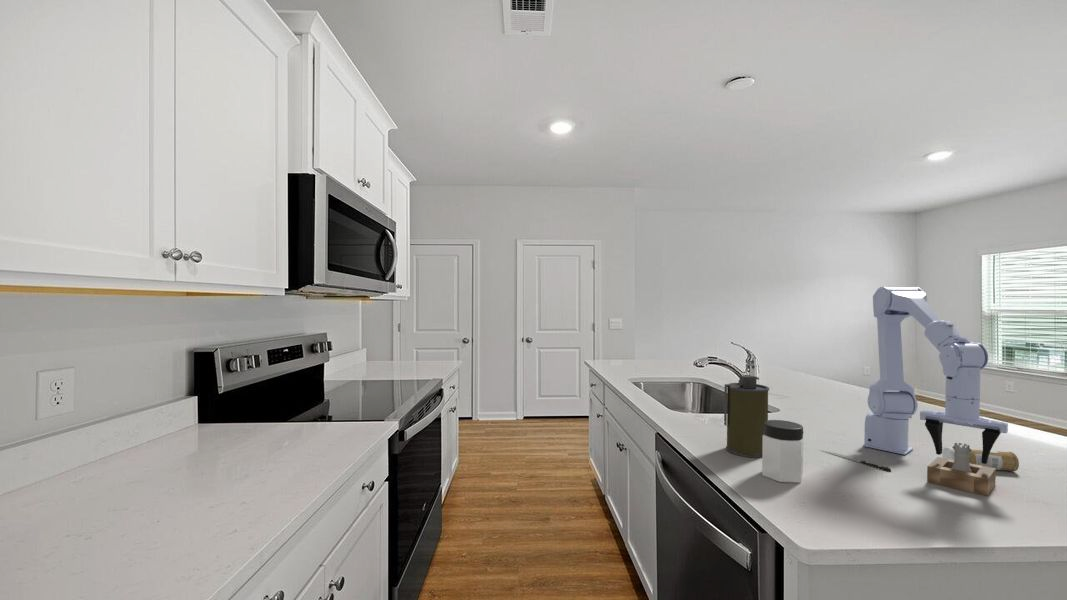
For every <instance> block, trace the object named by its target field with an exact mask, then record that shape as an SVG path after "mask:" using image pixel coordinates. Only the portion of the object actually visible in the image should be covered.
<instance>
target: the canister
mask: <svg viewBox="0 0 1067 600" xmlns="http://www.w3.org/2000/svg"><path fill="white" fill-rule="evenodd" d="M757 380H760V378H759V377H758V376H754V375H739V379H738V382H729V383H725V384H724V392H723V393H724V394H723V395H724V405H723V409H724V412H723V413H724V414H723V416H724V417H723V418H724V420H723V422H724V423H723V425H724V426H725V427H726V446H725V450H726V451H727V452H728V453H729V454H732V455H735V456H739V457H744V458H753V459H754V458H755V459H758V458H760V459H761V458H762V446H763V434H764V433H763V423H764V422H765V421H767V420H769V391H770V387H769V386H767V385H763V384H758V383H757Z"/></svg>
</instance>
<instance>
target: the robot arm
mask: <svg viewBox="0 0 1067 600" xmlns="http://www.w3.org/2000/svg"><path fill="white" fill-rule="evenodd" d="M927 295H928V294H927V293H926V292H924V290H923V289H922V287H920V286H912V287H911V286H910V287H908V286H906V287H903V286H900V287H899V286H897V287H896V286H895V287H893V286H891V287H890V286H889V287H887V286H880V287H878V288H877V289H876V291H875V292H874V293H873V295H872V309H873V317H875V318H876V323H877V341H878V342H877V344H878V345H877V346H878V363H879V379H878V380H877V381H876V382H874V383H873V384H871V385H870V386H869V393H868V396H867V407H868V409H869V410H870V412H868V413H866V415H865V418H864V444H863V447H865V448H866V447H867V448H870V449H875V450H880V451H885V452H890V453H895V454H898V455H904V456H905V455H906V456H907V454H909V453H910V452H911V451H913V450H914V447H913V446H909V419H912V416H914V415H915V414H916V412H917V410H918V406H919V405H918V400H917V397H916V395H915V389H914V387H913V386H912V385H910V384H909V383H908V382H906V381H905V380H904V363H903V345H902V343H903V342H902V328H901V327H902V326H901V324H902V322H903V321H904V320H905V319H906V318H910V317H912V318H913V319H915V320H916V321H917V322H918V323H919V324H920V325H921V326H923V328H924V329H925V330H924V332H923V333H924V336H925V338H927V340H929V342H930V343H931V344H932V345H933V346H934V347H935V348H936V350H937V351H938V353H939V354H938V358H939V362H940V364H941V365H942V373H943V375H944V376H945V396H944V397H945V401H944V402H945V403H944V406H945V409H944V412H942V411H932V410H931V411H930V410H925V409H922V410H920V411H919V420H920V421H921V420H922V421H925V422H924V426H925V428H926V430H927V432H928V434H929V435H930V437H931V440H932V443H933V445H934V448H935V454H936V455H940V456H941V454H942V452H943V430H944V429H943V428H944V424H950V425H954V426H961V427H969V428H974V429H975V428H976V429H981V430H982V432H981V440H982V450H983V451H982V463H983V464H987V462H988V457H989V454H990V451H992V448H993V447H994V444H995V443H996V441H997V439H998V438H999V437H1000V435H1001V434H1008V431H1009V422H1003V421H998V420H993V419H989V418H984V417H980V415H981V414H980V406H981V404H980V402H981V401H980V399H981V370H983V369H984V368H985V367H986V366H987V365H988V362H989V353H988V351H987V349H986V348H985V347H984V345H983V344H982V343H980V342H973V340H969V339H968V338H967V337H965V336H964V335H963V333H962V332H961V331H959V329H957V327H956V326H955V324H954V323H953V322H952V321H948V320H941V319H940V317H939V316H938V315H937V314H936V313H935V311H934V310H933V308H932V307H931V306H930V305H929V303H928V302H927V301H928V297H927Z"/></svg>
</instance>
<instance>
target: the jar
mask: <svg viewBox="0 0 1067 600" xmlns="http://www.w3.org/2000/svg"><path fill="white" fill-rule="evenodd" d="M763 433H764V434H763V446H762V457H761V460H762V461H761V462H762V463H761V467H762V468H761V470H762V471H761V472H762V473H761V475H762V476H763V477H766V478H768V479H770V480H773V481H776V482H779V483H793V484H794V483H797V484H798V483H799V484H800V483H801V482H802V479H803V477H804V476H803V474H804V473H803V472H804V426H803V425H801V424H800V423H797V422H795V421H789V420H783V419H782V420H781V419H768V420H767V421H765V422H764V423H763Z"/></svg>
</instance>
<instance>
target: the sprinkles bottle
mask: <svg viewBox="0 0 1067 600" xmlns="http://www.w3.org/2000/svg"><path fill="white" fill-rule="evenodd" d="M952 447H953V446H945V447H944V448H942V458H946V459H951V460H954V459H955V456H954V453H955V450H954V449H953V448H952ZM970 449H971V450H972V451H971V452H969V456H970V458H969V463H971V464H976V465H981V466H986V467H991V468H996V471H997V470H998V471H1010V472H1016V471H1018V469H1019V467H1020V461H1019V458H1018V456H1017V454H1016V453H1014V452H1012V451H1000V450H999V451H996V450H991V451H990V454H989V457H988V462H987V464H983V463H982V451H983V449H972V448H970Z"/></svg>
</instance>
